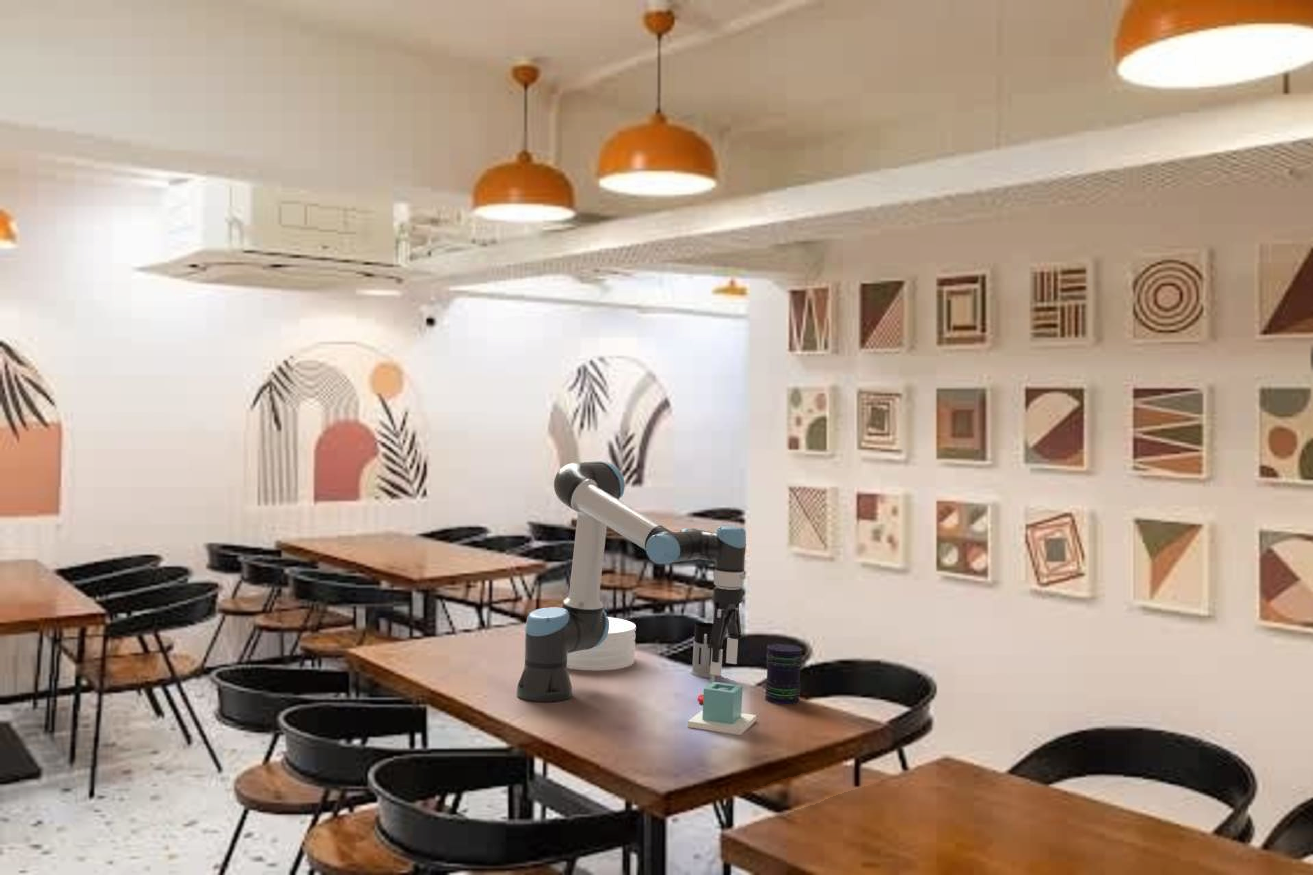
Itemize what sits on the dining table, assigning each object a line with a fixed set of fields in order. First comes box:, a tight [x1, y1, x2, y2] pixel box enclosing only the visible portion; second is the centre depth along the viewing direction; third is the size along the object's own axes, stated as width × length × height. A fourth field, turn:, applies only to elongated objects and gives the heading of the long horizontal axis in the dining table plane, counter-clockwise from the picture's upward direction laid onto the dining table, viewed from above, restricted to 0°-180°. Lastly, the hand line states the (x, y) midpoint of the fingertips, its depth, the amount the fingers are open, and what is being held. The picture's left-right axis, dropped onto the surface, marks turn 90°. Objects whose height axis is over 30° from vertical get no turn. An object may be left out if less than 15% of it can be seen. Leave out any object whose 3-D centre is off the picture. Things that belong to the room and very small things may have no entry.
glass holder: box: [690, 622, 720, 678], centre depth 328 cm, size 9×14×15 cm, turn 174°
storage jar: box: [764, 643, 803, 706], centre depth 304 cm, size 10×10×15 cm
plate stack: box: [567, 616, 637, 671], centre depth 342 cm, size 28×28×12 cm
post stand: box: [687, 688, 757, 736], centre depth 278 cm, size 14×14×9 cm
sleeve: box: [702, 681, 743, 724], centre depth 278 cm, size 8×8×8 cm
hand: (723, 668), depth 278 cm, fingers open, 13 cm apart
